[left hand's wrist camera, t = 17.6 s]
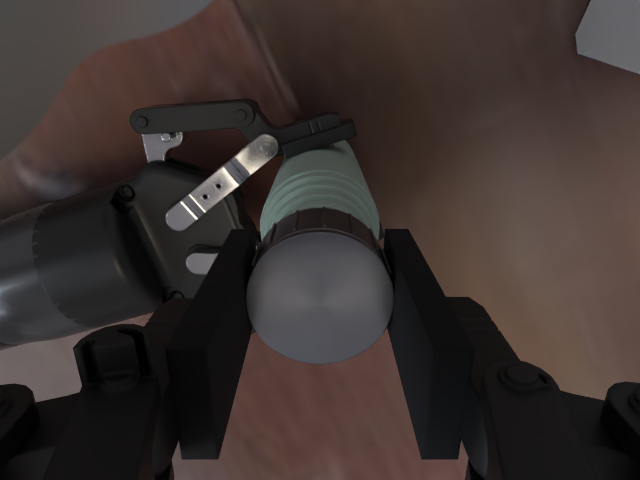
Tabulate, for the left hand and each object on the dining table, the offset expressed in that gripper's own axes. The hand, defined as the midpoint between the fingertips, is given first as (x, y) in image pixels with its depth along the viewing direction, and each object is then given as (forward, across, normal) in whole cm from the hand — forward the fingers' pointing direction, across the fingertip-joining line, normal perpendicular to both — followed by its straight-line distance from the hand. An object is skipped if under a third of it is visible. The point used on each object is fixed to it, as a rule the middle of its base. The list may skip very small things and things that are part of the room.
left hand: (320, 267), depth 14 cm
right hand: (+9, -2, -1) cm, 10 cm away
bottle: (+16, 0, 0) cm, 16 cm away
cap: (-2, 0, 0) cm, 2 cm away
